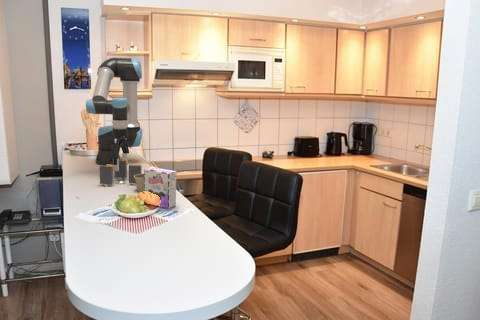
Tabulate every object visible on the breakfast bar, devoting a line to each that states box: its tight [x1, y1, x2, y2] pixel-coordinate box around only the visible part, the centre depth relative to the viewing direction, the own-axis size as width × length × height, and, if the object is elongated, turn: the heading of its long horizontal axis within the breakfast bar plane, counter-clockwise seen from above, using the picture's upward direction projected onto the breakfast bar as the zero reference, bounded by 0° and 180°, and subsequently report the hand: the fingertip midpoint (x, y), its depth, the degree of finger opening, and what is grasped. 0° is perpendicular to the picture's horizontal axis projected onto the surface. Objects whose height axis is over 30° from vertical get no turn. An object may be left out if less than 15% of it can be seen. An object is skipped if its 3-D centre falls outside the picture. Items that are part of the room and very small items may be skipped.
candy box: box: [143, 166, 177, 210], centre depth 183 cm, size 14×6×16 cm, turn 62°
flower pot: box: [134, 173, 144, 193], centre depth 200 cm, size 9×9×9 cm
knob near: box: [114, 158, 128, 180], centre depth 217 cm, size 2×6×11 cm, turn 86°
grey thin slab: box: [128, 163, 143, 186], centre depth 208 cm, size 2×6×11 cm, turn 86°
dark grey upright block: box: [99, 164, 114, 187], centre depth 204 cm, size 2×6×11 cm, turn 86°
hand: (120, 168), depth 217 cm, fingers open, 13 cm apart
